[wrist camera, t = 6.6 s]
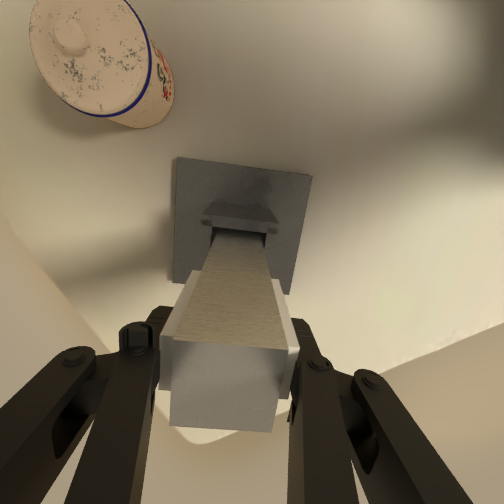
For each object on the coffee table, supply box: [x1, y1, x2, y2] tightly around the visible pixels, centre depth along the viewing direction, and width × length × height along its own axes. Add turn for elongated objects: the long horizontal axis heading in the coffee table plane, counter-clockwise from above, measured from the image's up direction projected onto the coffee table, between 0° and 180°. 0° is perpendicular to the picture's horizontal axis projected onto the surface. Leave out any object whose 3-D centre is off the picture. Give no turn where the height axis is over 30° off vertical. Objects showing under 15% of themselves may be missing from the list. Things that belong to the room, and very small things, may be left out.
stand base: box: [172, 157, 312, 295], centre depth 29 cm, size 16×16×10 cm
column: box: [169, 227, 289, 432], centre depth 18 cm, size 5×4×18 cm
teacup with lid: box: [29, 0, 174, 128], centre depth 22 cm, size 12×9×12 cm
